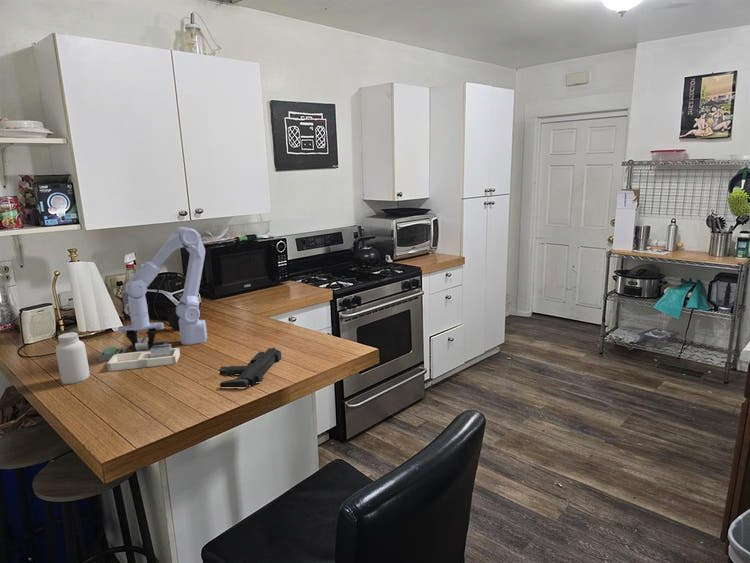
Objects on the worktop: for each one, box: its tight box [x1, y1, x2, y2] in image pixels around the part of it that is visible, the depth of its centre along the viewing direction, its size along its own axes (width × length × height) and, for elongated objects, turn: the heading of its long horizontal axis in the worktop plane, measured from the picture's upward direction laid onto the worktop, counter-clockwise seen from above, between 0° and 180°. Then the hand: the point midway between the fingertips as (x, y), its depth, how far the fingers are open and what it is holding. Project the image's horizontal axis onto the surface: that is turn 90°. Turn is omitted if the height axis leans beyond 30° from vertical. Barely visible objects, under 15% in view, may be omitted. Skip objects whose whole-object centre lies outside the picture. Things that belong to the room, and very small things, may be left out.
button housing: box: [98, 347, 123, 364], centre depth 171 cm, size 6×6×3 cm
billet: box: [135, 336, 150, 352], centre depth 175 cm, size 4×6×5 cm, turn 13°
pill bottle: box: [55, 331, 91, 385], centre depth 154 cm, size 8×8×15 cm
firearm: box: [217, 347, 282, 388], centre depth 160 cm, size 3×30×20 cm
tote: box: [121, 340, 169, 354], centre depth 175 cm, size 14×12×2 cm
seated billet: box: [150, 343, 173, 358], centre depth 166 cm, size 4×6×5 cm, turn 103°
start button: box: [103, 346, 118, 355], centre depth 171 cm, size 4×4×3 cm
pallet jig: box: [106, 347, 181, 372], centre depth 165 cm, size 21×9×4 cm, turn 103°
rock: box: [166, 307, 202, 330], centre depth 203 cm, size 13×4×10 cm, turn 91°
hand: (144, 349), depth 175 cm, fingers open, 4 cm apart
